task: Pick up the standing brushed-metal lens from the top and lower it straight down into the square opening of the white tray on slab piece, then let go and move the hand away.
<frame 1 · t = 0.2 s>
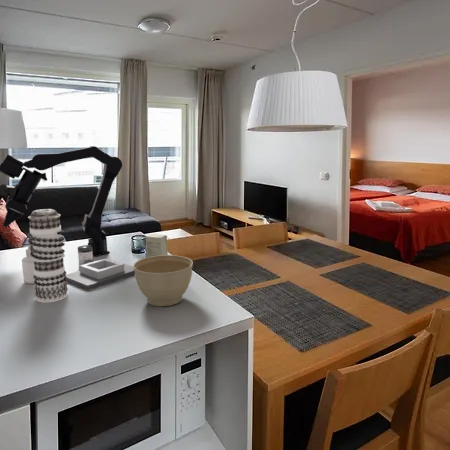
hand: (5, 223, 134), 15 cm above the kitchen counter, tool tilted 30°, fingers open, 9 cm apart
skincare box: (157, 270, 131), on the kitchen counter
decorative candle: (52, 297, 108), on the kitchen counter
planter bowl: (164, 300, 106), on the kitchen counter
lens: (86, 265, 135), on the kitchen counter
eye dropper bottle: (33, 282, 119), on the kitchen counter
white tray on slab: (102, 276, 124), on the kitchen counter
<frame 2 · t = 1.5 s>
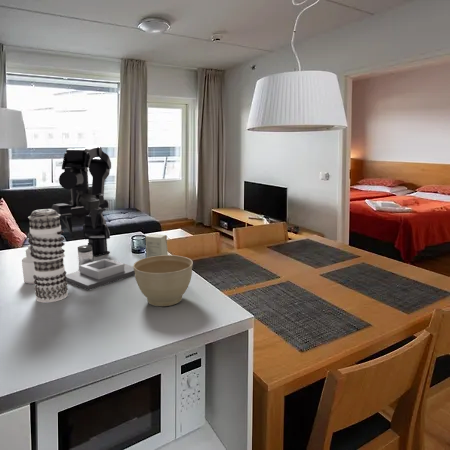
hand: (83, 230, 132), 13 cm above the kitchen counter, tool pointing down, fingers open, 9 cm apart
nothing on the kitchen counter moved.
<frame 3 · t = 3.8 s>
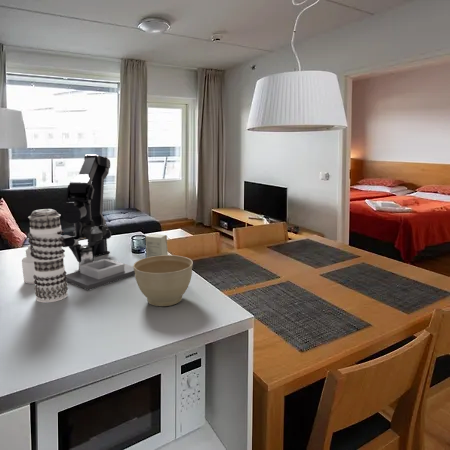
hand: (85, 260, 134), 2 cm above the kitchen counter, tool pointing down, fingers closed on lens, 5 cm apart
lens: (86, 265, 135), on the kitchen counter, touching gripper
everything else where it was.
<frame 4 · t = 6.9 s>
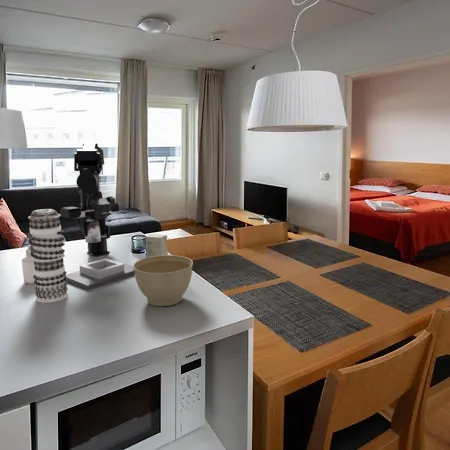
hand: (92, 235, 125), 13 cm above the kitchen counter, tool pointing down, fingers closed on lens, 5 cm apart
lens: (93, 241, 126), point 11 cm above the kitchen counter, touching gripper
everything else where it was.
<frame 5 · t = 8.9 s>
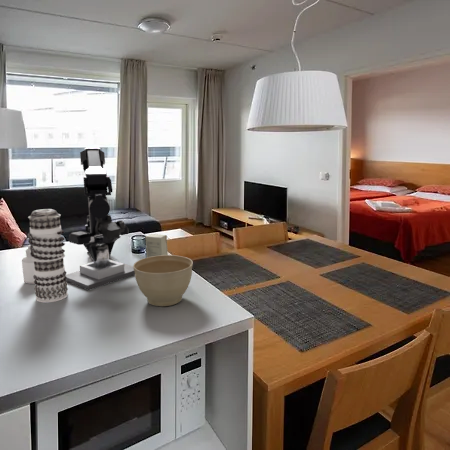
hand: (101, 259, 123), 6 cm above the kitchen counter, tool pointing down, fingers closed on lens, 5 cm apart
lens: (101, 265, 123), point 4 cm above the kitchen counter, touching gripper
everything else where it was.
when the fingers open (5 cm above the kitchen counter, at t = 10.1 s): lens drops 2 cm, resting on white tray on slab.
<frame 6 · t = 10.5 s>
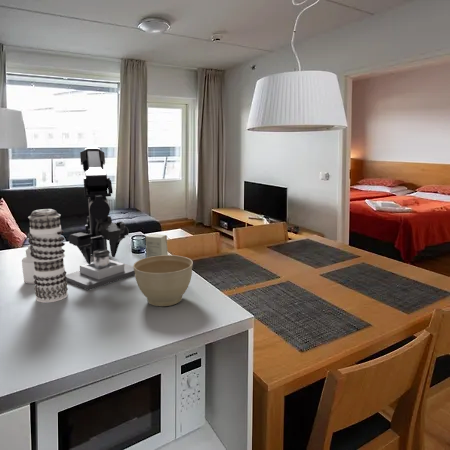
hand: (101, 260, 123), 5 cm above the kitchen counter, tool pointing down, fingers open, 9 cm apart
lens: (102, 271, 124), point 2 cm above the kitchen counter, touching white tray on slab
everything else where it was.
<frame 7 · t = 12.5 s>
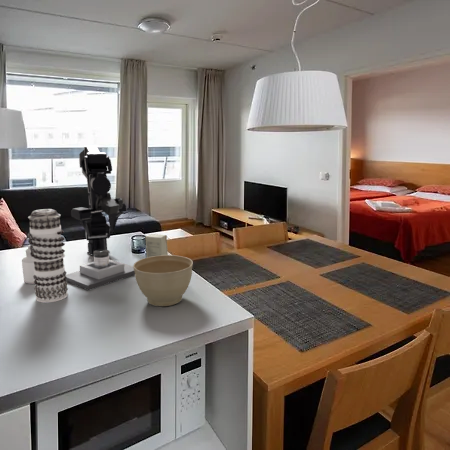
hand: (101, 233, 132), 12 cm above the kitchen counter, tool pointing down, fingers open, 9 cm apart
nothing on the kitchen counter moved.
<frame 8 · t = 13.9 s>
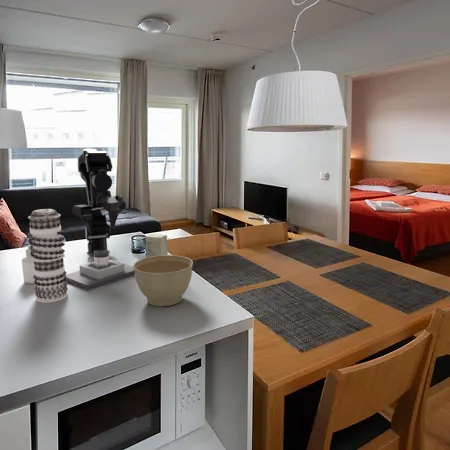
hand: (101, 230, 136), 12 cm above the kitchen counter, tool pointing down, fingers open, 9 cm apart
nothing on the kitchen counter moved.
at the end: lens 0.1 cm off-centre on the white tray on slab, point 1.5 cm above the white tray on slab's base; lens tilted 0°; the gripper is holding nothing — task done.
